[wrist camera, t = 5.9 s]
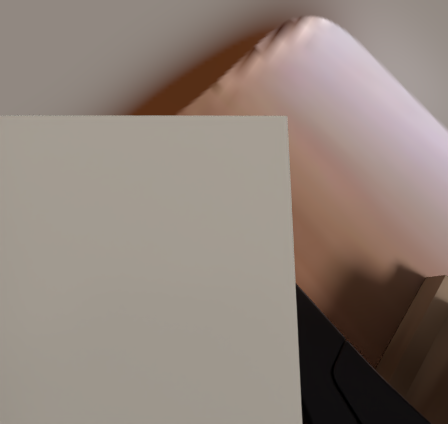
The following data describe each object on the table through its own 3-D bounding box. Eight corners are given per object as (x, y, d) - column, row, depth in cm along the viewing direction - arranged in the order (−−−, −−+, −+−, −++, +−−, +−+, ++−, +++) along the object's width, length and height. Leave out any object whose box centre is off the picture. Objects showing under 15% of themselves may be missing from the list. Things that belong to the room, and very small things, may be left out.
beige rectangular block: (239, 360, 14) (318, 751, 2) (168, 359, 14) (-210, 740, 2) (238, 265, 15) (287, 115, 3) (172, 264, 15) (-51, 116, 3)
